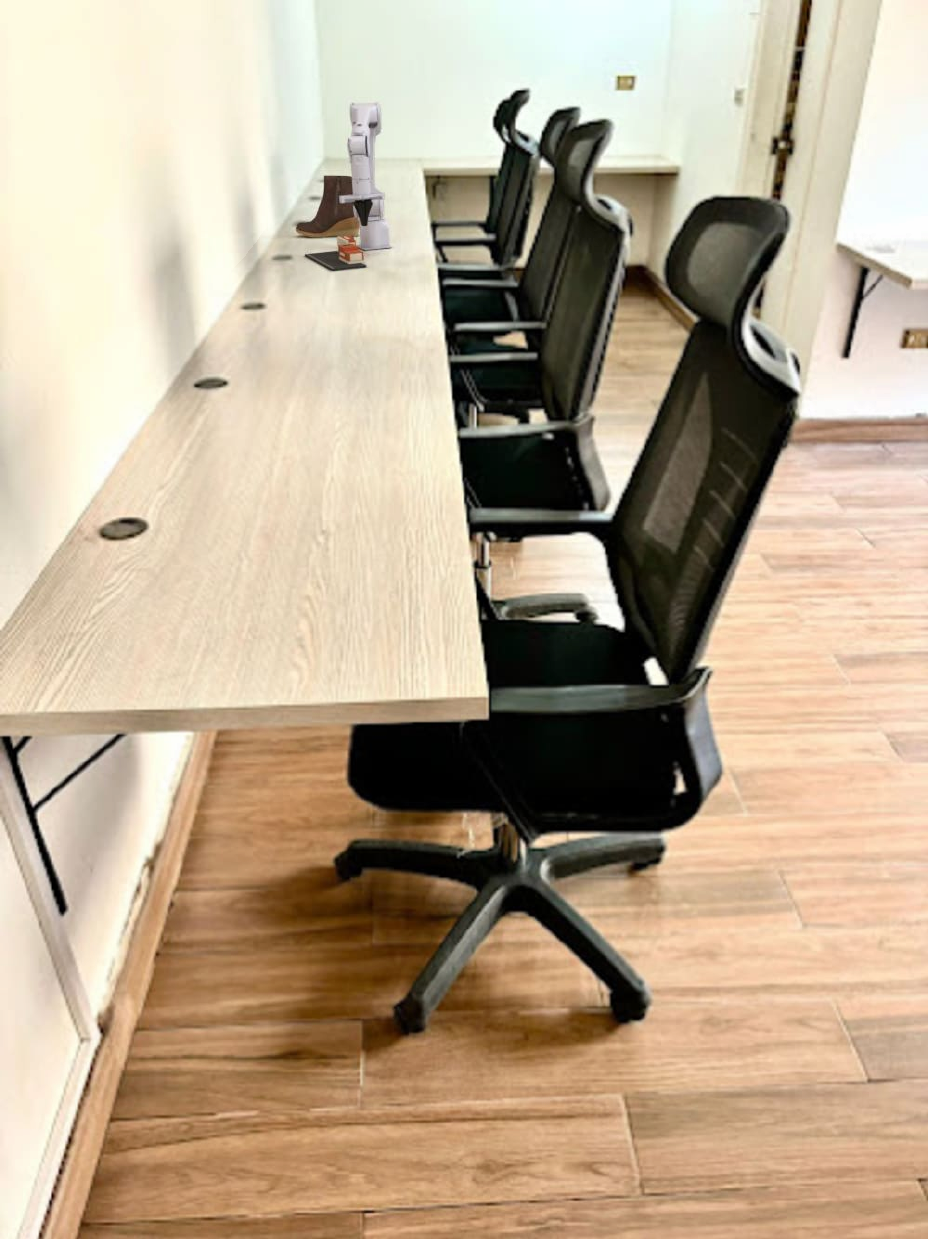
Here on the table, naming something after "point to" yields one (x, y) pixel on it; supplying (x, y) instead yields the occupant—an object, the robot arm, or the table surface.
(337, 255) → the shoe mat
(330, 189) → the boot
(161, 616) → the table surface
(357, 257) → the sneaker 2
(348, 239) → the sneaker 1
